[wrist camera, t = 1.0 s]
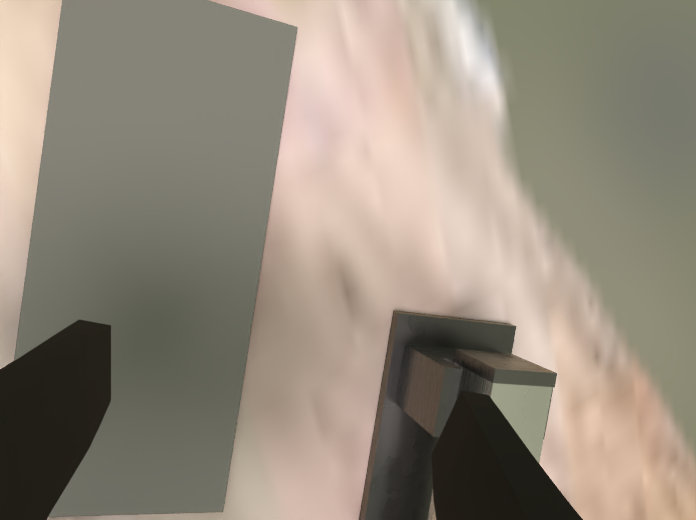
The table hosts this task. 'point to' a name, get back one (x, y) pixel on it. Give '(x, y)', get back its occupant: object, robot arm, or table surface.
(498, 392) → the rail
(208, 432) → the pad
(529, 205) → the table surface
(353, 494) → the table surface
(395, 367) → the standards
